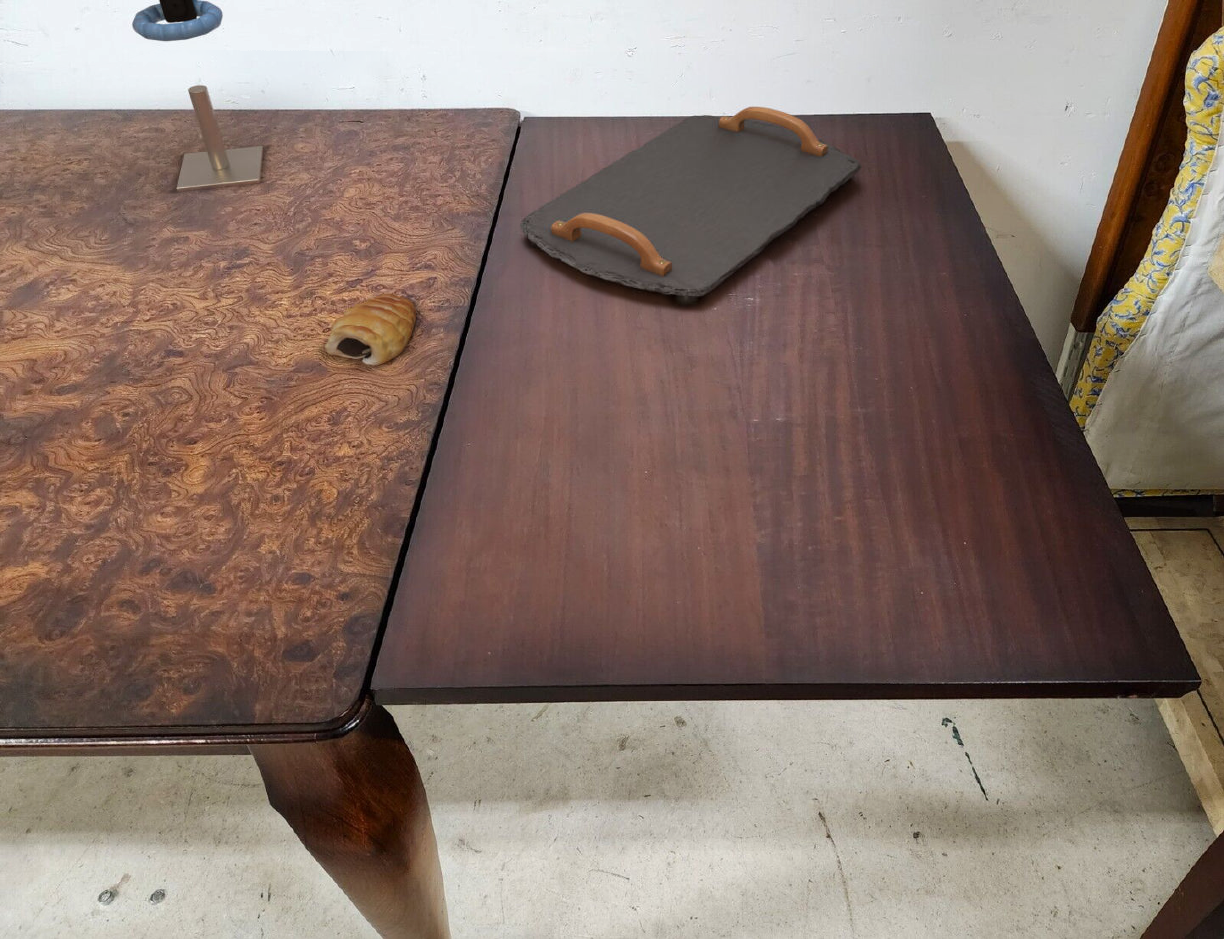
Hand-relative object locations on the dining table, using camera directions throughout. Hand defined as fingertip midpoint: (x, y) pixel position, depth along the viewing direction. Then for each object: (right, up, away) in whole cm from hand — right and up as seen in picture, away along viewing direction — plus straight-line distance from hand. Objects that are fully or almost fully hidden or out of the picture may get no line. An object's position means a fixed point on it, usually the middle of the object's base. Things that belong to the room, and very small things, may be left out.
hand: (183, 15), depth 105 cm
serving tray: (+55, -22, +1) cm, 59 cm away
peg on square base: (+1, -15, +9) cm, 17 cm away
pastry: (+25, -38, -16) cm, 48 cm away
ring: (+1, -2, -3) cm, 3 cm away
